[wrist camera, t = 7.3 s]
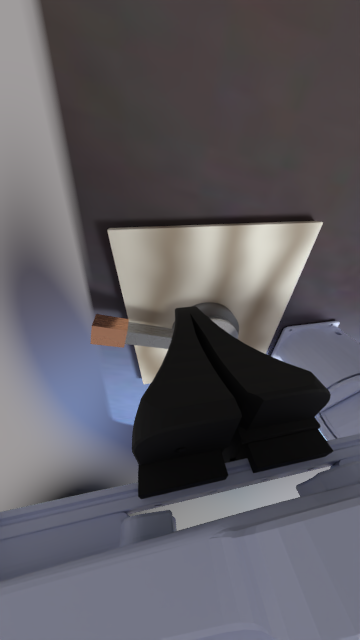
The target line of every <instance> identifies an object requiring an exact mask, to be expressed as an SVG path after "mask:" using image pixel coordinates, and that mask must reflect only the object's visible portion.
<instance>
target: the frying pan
mask: <svg viewBox="0 0 360 640" xmlns="http://www.w3.org/2000/svg"><path fill="white" fill-rule="evenodd" d="M208 318H210V319H211V320H212V321H213V322H214V323H215V324H217V325H218V326H219V327H221V328H222V329H223V330H225V331H226V332H227V333H229V334H230V335H232V336H233V337H235V338H237V339H238V332H237V330H236V329H235V327H234V326H233V324H232V323H231V322H230V321H229V320H227V319H226V318H223V317H219V316H208ZM173 332H174V329H171V328H165V327H159V326H153V325H146V324H140V323H134V322H129V319H124V318H118V317H111V316H105V315H99V314H96V316H95V319H94V322H93V324H92V331H91V344H97V345H106V346H115V347H124V344H129V345H138V346H146V347H155V348H164V349H168V348H169V346H170V343H171V340H172V336H173Z"/></svg>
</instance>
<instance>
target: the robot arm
mask: <svg viewBox="0 0 360 640" xmlns="http://www.w3.org/2000/svg"><path fill="white" fill-rule="evenodd" d="M338 325H339V322H338V321H331V322H322V323H314V324H306V325H298V326H290V327H285V328H284V329H283V331H282V333H281V335H280V338H279V340H278V342H277V344H276V346H275V348H274V350H273V353H272V355H271V356H269V355H267V354H264V353H262V352H260V351H258V350H256V349H254V348H252V347H250V346H249V345H247V344H245V343H243V342H241V341H240V340H238V339H237V338H235V337H233V336H232V335H230V334H229V333H227V332H226V331H225V330H223V329H222V328H221V327H219V326H218V325H217V324H215V323H214V322H213V321H212V320H211V319H210V318H208V317H207V316H206V315H205V314H204V313H203V312H202V311H201V310H200V309H198V308H197V307H196V306H192V307H182V308H176V309H175V328H174V332H173V336H172V340H171V343H170V346H169V348H168V351H167V354H166V356H165V358H164V360H163V363H162V365H161V367H160V368H159V370H158V372H157V374H156V376H155V378H154V379H153V381H152V383H151V384H150V386H149V387H148V389H147V390H146V392H145V393H144V395H143V396H142V398H141V401H140V404H139V407H138V410H137V414H136V417H135V421H134V426H133V435H132V452H133V454H134V456H135V458H136V460H137V462H138V464H139V471H138V482H136V483H131V484H127V485H122V486H118V487H113V488H108V489H104V490H100V491H94V492H90V493H85V494H81V495H76V496H72V497H67V498H62V499H58V500H54V501H49V502H44V503H40V504H35V505H30V506H26V507H21V508H17V509H12V510H8V511H3V512H0V640H360V343H359V342H357V341H356V340H354V339H353V338H352V337H350V336H349V335H347V334H346V333H345V332H343V331H342V330H340V329H339V328H337V327H338ZM283 361H284V362H283ZM318 429H320V430H321V432H322V433H323V435H324V436H325V438H326V439H327V440H328V441H326V440H325V438H324V437H323V436H322V434H321V433H320V432H319V430H318ZM327 466H331V468H330V469H329V470H326V471H323V472H320V473H318V474H317V475H316V476H314V477H313V478H311V479H309V480H307V481H305V482H303V483H301V484H298V485H297V486H296V489H297V491H298V493H299V495H300V497H299V498H295V499H291V500H288V501H283V502H279V503H276V504H272V505H269V506H265V507H261V508H257V509H254V510H250V511H246V512H243V513H239V514H236V515H232V516H228V517H225V518H222V519H218V520H214V521H211V522H207V523H204V524H200V525H197V526H193V527H190V528H186V529H183V530H179V531H176V520H175V518H174V517H173V516H172V512H171V511H170V510H166V511H159V512H152V513H145V514H140V515H135V516H131V517H130V516H129V515H128V514H132V513H136V512H140V511H144V510H148V509H153V508H156V507H160V506H165V505H169V504H174V503H178V502H182V501H186V500H190V499H194V498H198V497H203V496H207V495H211V494H215V493H219V492H223V491H228V490H232V489H236V488H240V487H244V486H249V485H253V484H257V483H261V482H265V481H269V480H273V479H278V478H282V477H286V476H290V475H294V474H298V473H303V472H306V471H311V470H315V469H320V468H323V467H327Z"/></svg>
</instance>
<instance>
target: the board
mask: <svg viewBox="0 0 360 640" xmlns="http://www.w3.org/2000/svg"><path fill="white" fill-rule="evenodd" d="M322 224H323V222H319V221H297V222H268V223H240V224H211V225H183V226H154V227H126V228H109V229H108V230H107V232H108V236H109V240H110V244H111V248H112V253H113V257H114V261H115V265H116V270H117V274H118V278H119V282H120V287H121V291H122V295H123V299H124V304H125V308H126V312H127V316H128V319H129V322H134V323H140V324H146V325H153V326H159V327H165V328H171V329H174V328H175V309H176V308H182V307H192V306H196V307H197V308H198V309H200V310H201V311H202V312H203V313H204V314H205V315H206V316H207V317H208V316H219V317H223V318H226V319H227V320H229V321H230V322H231V323H232V324H233V326H234V327H235V329H236V330H237V332H238V340H240V341H241V342H243V343H245V344H247V345H249V346H250V347H252V348H254V349H256V350H258V351H260V352H262V353H264V354H266V352H267V350H268V347H269V345H270V343H271V341H272V338H273V336H274V334H275V331H276V329H277V327H278V325H279V322H280V320H281V318H282V315H283V313H284V311H285V309H286V306H287V304H288V302H289V299H290V297H291V295H292V293H293V290H294V288H295V286H296V283H297V281H298V279H299V276H300V274H301V272H302V270H303V267H304V265H305V263H306V260H307V258H308V256H309V254H310V251H311V249H312V247H313V244H314V242H315V240H316V238H317V235H318V233H319V231H320V228H321V226H322ZM134 346H135V350H136V354H137V359H138V363H139V367H140V371H141V376H142V380H143V384H149V383H152V381H153V379H154V378H155V376H156V374H157V372H158V370H159V368H160V367H161V365H162V363H163V360H164V358H165V356H166V354H167V351H168V349H164V348H155V347H146V346H138V345H134Z"/></svg>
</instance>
